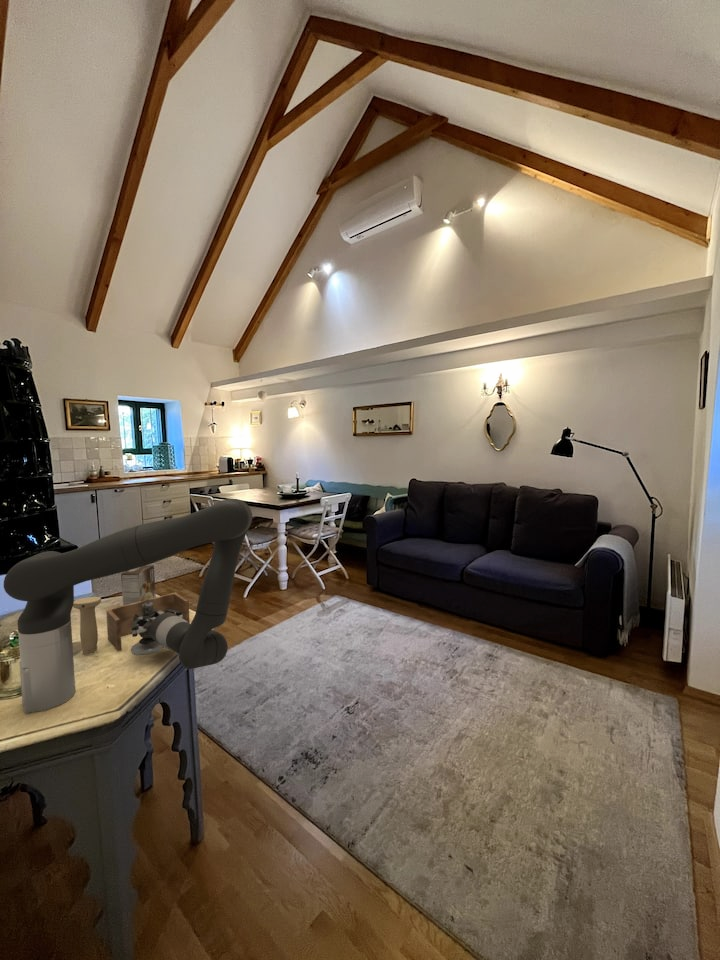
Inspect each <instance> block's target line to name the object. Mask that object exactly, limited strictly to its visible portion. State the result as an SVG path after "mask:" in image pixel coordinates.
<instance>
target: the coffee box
mask: <svg viewBox="0 0 720 960" xmlns="http://www.w3.org/2000/svg"><path fill="white" fill-rule="evenodd" d="M120 577H121V580H120V581H121V590H122V591H121V592H122V593H121V594H122V606H124V605H128V604H132V603H135V602H139V601H143V600H147V599H151V598H155V597H157V596H156V583H155V582H156V581H155V565H154V564H153V565H152V564H149V565H145V566H142V567H139V568H136V569H132V570H128V571H125V572H121V573H120Z"/></svg>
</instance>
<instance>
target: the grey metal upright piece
mask: <svg viewBox="0 0 720 960" xmlns="http://www.w3.org/2000/svg"><path fill="white" fill-rule="evenodd" d="M154 615H155V612H154V610H153V603H152V602H149V601H148V599H147V600H146V602H145V603H143V604H142V615H141V616H143V617H147V616H148V617H152V618H153V617H154ZM138 635H139V636H140V637H141V638H140V640H139V641H138V642H139V643H140V644H150V643H154V642H156V641H155V640H154V639H152V638H151V636H150V635H149V634H146V633H144V632H140V633H139V634H138Z"/></svg>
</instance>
